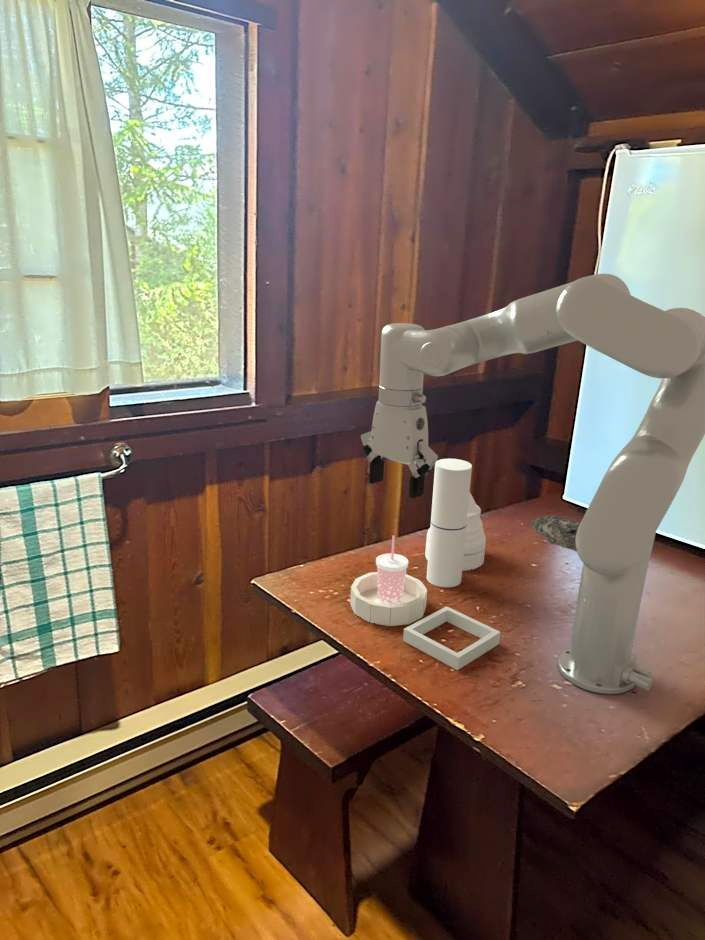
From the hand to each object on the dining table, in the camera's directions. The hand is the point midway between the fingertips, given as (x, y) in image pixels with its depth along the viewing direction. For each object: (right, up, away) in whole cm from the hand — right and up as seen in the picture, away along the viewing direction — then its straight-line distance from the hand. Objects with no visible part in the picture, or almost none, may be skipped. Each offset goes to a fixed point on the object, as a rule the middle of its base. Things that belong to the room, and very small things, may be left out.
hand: (395, 489), depth 136 cm
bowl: (-1, -23, +8) cm, 24 cm away
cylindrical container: (+11, -19, +19) cm, 30 cm away
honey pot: (+15, -16, +30) cm, 37 cm away
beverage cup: (-1, -22, +8) cm, 23 cm away
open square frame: (+10, -27, -3) cm, 29 cm away
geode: (+43, -13, +43) cm, 62 cm away
